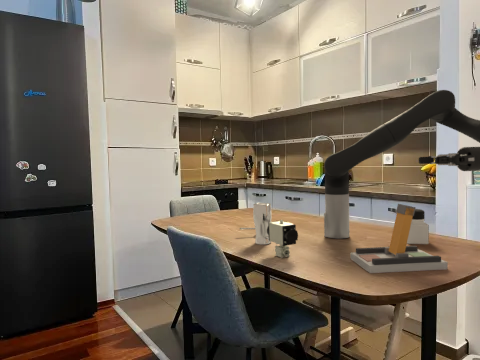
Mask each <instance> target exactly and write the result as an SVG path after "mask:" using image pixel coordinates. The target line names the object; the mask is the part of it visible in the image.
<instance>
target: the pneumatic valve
mask: <svg viewBox="0 0 480 360" xmlns="http://www.w3.org/2000/svg"><path fill="white" fill-rule="evenodd" d="M298 233H299V232H298V230H297V225H296V224H294V223H292V222H288V221H287V222H286V221H284V220H283V219H280V220H276V221H271V222H268V227H267V234H268V235H269V241H271V243H275V246H274V248H275V249H274V251H275V253H274V255H275V256H276V257H278V258H281V259H283V258H286V257H287V258H289V257H290V252H291V251H290V246H291V245H296V244H297V241H298V238H299V234H298Z"/></svg>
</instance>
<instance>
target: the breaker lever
mask: <svg viewBox="0 0 480 360" xmlns="http://www.w3.org/2000/svg"><path fill="white" fill-rule="evenodd" d="M415 209H417V208H416V207H415V206H411V205H407V204H401V203H397V206H396V211H395V212H396V216H395V220H394V225H393V229H392V233H391V239H390V242H389V246H388V247H389V252H390V253H391V254H393V255H395V256H396V253H405V249H406V246H408V244H407V240H408V236H409V231H410V226H411V222H412V217H413V216H414V213H415Z"/></svg>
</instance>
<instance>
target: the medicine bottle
mask: <svg viewBox="0 0 480 360" xmlns="http://www.w3.org/2000/svg"><path fill="white" fill-rule="evenodd" d="M425 219H426V217H425V210H423V209H421V208H419V209H418V208H415V213H414V216H413V217H412V222H411V226H410V231H409V236H408V240H407V245H429V244H430V241H429V240H430V238H429V237H430V235H429V230H430V229H429V228H430V226H429V224H428V223H426V222H425Z"/></svg>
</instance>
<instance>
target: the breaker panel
mask: <svg viewBox="0 0 480 360" xmlns="http://www.w3.org/2000/svg"><path fill="white" fill-rule="evenodd" d="M384 247H385V253H367V254H357V253H356V251H355V252H350V260H351V261H353V262H354V263H356V264H357V265H358V266H359V267H361V268H363V270H364V271H366V272H368V273H369V274H378V273H379V274H380V273H382V274H383V273H398V272H399V273H400V272H419V271H420V272H421V271H422V272H424V271H439V270H448V268H449V267H448V265H449V264H448V263H449V262H448V261H446V260H443V259H442V258H441V262H429V263H408V264H388V265H373V264H372V259H376V258H397V257H418V256H434V255H433V254H430V253H428V252H427V251H426V252H425V251H424V250H421V249H419V248H418V251H410V252H405V253H396V256H395V255H393V254H391V253H390V252H389V247H390V246H384Z"/></svg>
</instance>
